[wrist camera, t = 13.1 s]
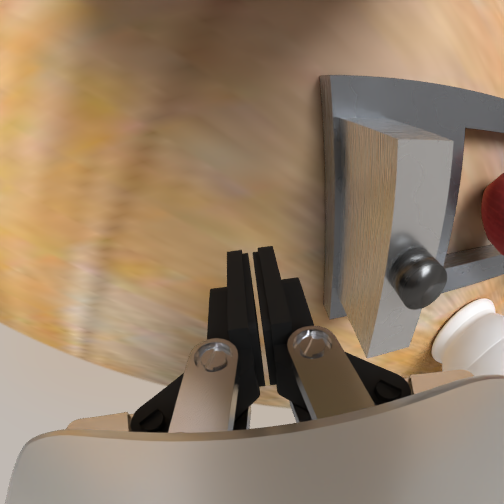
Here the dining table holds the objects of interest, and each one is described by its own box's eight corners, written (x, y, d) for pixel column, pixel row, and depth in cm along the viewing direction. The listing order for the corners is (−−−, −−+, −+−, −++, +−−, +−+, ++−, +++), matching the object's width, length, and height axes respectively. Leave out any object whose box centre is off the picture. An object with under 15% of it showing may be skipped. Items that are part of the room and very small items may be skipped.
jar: (429, 311, 22) (515, 458, 9) (507, 273, 21) (594, 380, 8) (415, 376, 27) (465, 490, 14) (484, 341, 27) (540, 435, 14)
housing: (323, 304, 20) (354, 382, 14) (319, 75, 12) (386, 74, 7) (523, 255, 20) (563, 294, 15) (550, 114, 13) (605, 139, 7)
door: (336, 294, 17) (375, 377, 12) (340, 117, 12) (419, 148, 7) (373, 287, 17) (418, 363, 12) (386, 117, 12) (476, 150, 7)
